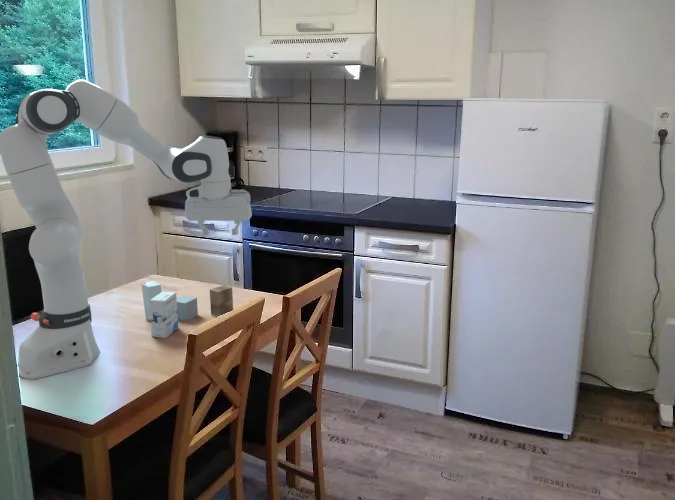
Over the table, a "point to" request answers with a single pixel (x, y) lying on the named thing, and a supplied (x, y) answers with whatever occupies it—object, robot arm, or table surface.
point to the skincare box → (149, 295)
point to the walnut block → (221, 300)
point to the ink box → (164, 314)
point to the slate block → (186, 307)
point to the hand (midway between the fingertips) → (220, 234)
